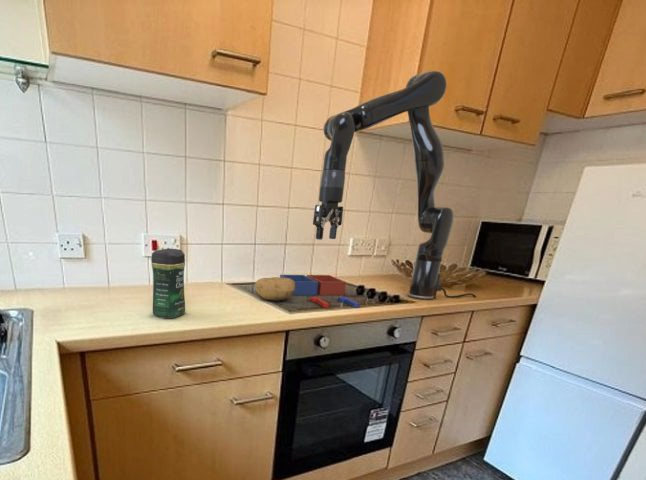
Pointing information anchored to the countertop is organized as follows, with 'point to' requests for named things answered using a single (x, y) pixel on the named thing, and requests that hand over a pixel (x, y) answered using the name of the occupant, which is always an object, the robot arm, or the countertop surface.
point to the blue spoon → (348, 301)
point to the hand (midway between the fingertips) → (325, 239)
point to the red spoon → (319, 301)
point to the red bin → (329, 285)
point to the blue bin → (303, 284)
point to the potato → (275, 288)
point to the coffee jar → (168, 283)
